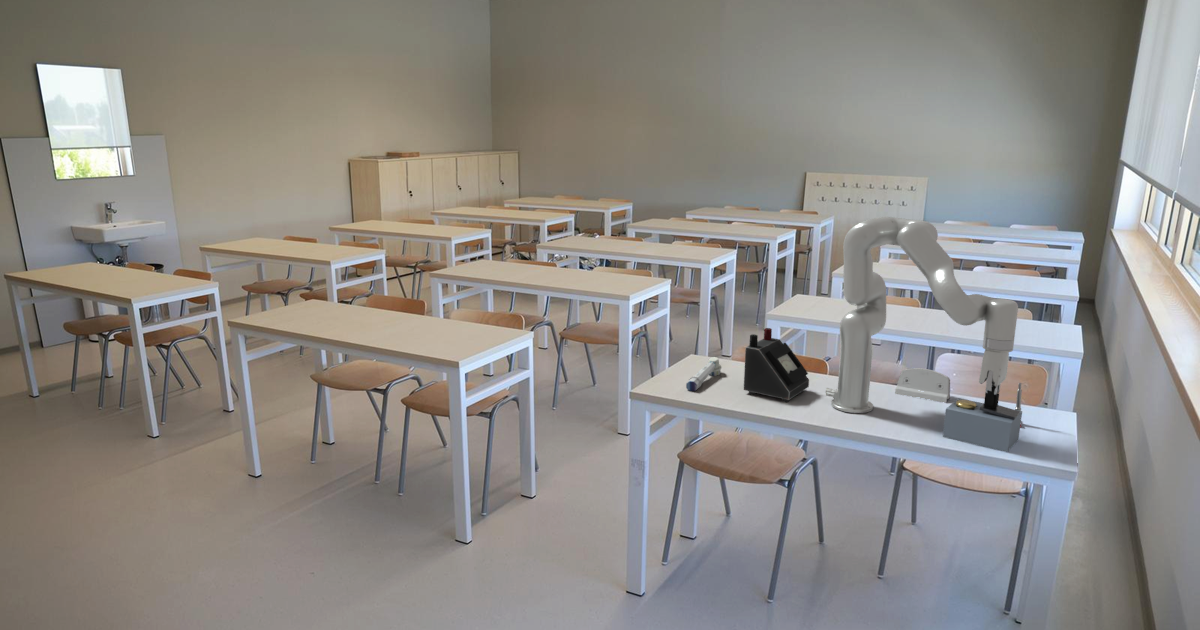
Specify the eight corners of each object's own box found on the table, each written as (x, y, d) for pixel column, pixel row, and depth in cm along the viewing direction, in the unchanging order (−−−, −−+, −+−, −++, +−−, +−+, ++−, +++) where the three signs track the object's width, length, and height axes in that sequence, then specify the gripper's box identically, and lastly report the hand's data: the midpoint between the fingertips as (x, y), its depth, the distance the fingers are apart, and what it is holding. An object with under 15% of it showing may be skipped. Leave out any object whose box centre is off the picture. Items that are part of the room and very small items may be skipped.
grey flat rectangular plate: (979, 409, 216) (980, 407, 216) (985, 404, 221) (986, 401, 221) (1014, 420, 211) (1014, 417, 211) (1019, 414, 215) (1020, 411, 215)
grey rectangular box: (942, 436, 221) (945, 408, 220) (955, 425, 230) (958, 398, 228) (1007, 452, 211) (1011, 423, 209) (1018, 439, 220) (1022, 411, 218)
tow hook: (986, 426, 231) (1021, 429, 227) (989, 385, 228) (1025, 387, 225) (984, 417, 238) (1018, 419, 235) (987, 377, 236) (1021, 379, 232)
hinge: (893, 393, 258) (898, 364, 259) (896, 394, 262) (901, 365, 263) (947, 403, 249) (952, 372, 250) (949, 404, 253) (954, 374, 254)
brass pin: (950, 434, 223) (953, 403, 221) (956, 429, 227) (960, 398, 225) (969, 438, 220) (972, 407, 218) (975, 433, 224) (979, 402, 222)
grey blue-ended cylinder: (683, 379, 261) (709, 352, 281) (684, 397, 263) (710, 368, 283) (698, 382, 258) (723, 354, 279) (698, 400, 260) (723, 370, 281)
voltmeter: (789, 404, 248) (793, 344, 244) (743, 394, 258) (746, 336, 253) (809, 391, 261) (812, 333, 256) (764, 381, 270) (767, 326, 266)
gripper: (991, 336, 221) (983, 397, 225) (975, 346, 210) (968, 410, 214) (1019, 340, 216) (1012, 402, 220) (1005, 351, 205) (998, 416, 209)
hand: (990, 406), depth 217 cm, fingers closed
